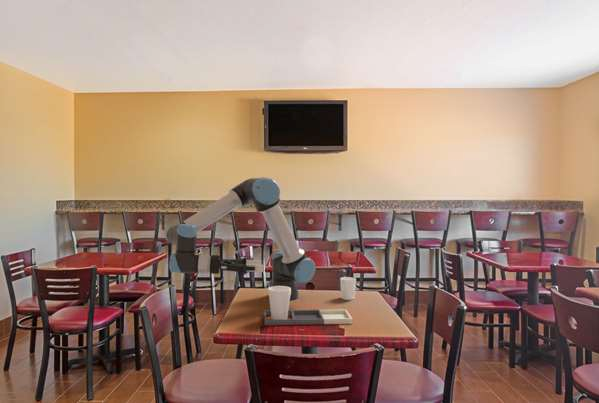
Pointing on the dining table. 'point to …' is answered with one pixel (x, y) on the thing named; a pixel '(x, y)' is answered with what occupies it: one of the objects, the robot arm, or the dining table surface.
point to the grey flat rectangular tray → (312, 317)
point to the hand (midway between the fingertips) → (262, 265)
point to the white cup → (348, 288)
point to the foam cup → (279, 301)
